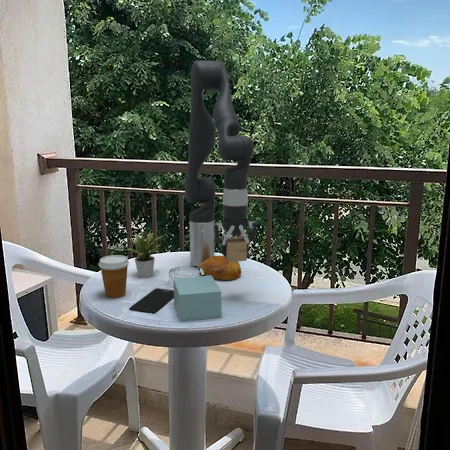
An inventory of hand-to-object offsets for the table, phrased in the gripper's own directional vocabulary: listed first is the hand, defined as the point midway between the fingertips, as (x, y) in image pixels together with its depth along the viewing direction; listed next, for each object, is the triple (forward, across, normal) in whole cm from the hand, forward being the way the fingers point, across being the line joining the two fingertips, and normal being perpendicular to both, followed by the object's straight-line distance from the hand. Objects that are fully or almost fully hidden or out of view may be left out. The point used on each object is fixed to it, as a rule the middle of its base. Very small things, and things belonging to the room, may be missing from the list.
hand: (234, 254), depth 159 cm
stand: (+14, +14, +7) cm, 21 cm away
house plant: (+15, +26, -26) cm, 39 cm away
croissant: (+15, -1, -22) cm, 26 cm away
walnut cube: (+1, 0, 0) cm, 1 cm away
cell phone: (+15, +25, -2) cm, 29 cm away
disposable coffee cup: (+15, +37, -11) cm, 41 cm away
